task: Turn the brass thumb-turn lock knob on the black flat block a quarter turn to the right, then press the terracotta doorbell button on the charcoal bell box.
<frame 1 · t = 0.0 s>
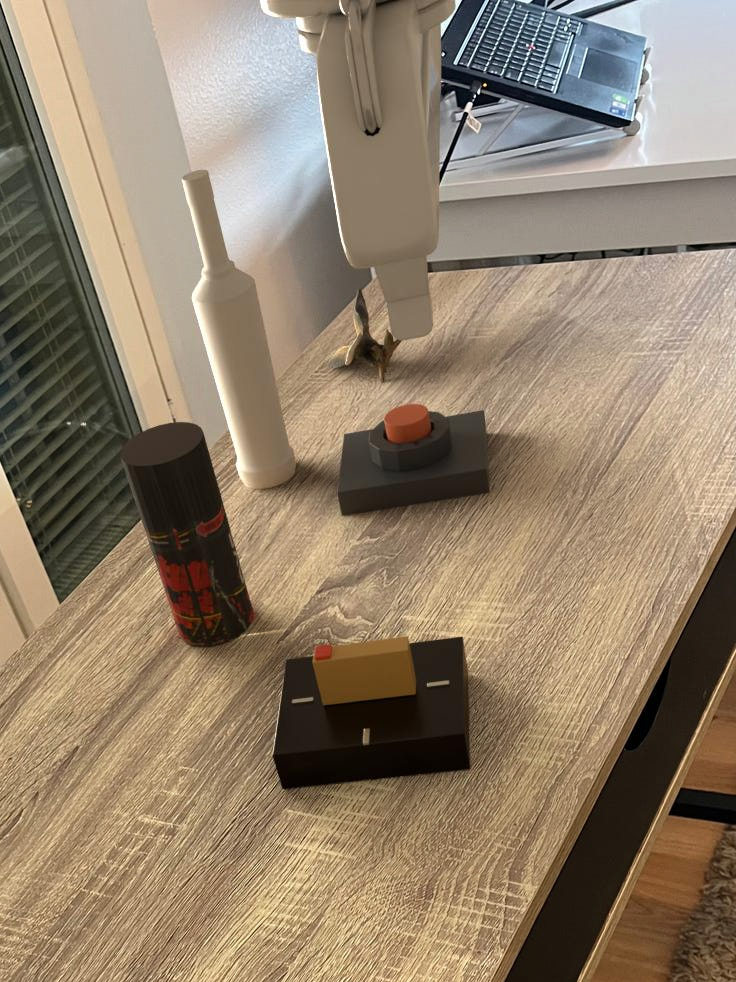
hand: (415, 288, 59), 30 cm above the table, tool pointing down, fingers open, 8 cm apart
black flat block: (377, 729, 84), on the table
bell button: (407, 424, 104), point 4 cm above the table, slide at 0.1 cm
deodorant: (217, 625, 98), on the table
bottle: (269, 477, 113), on the table
lock knob: (364, 669, 81), point 5 cm above the table, hinge at 0.0°
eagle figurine: (368, 370, 124), on the table
bell box: (415, 474, 107), on the table
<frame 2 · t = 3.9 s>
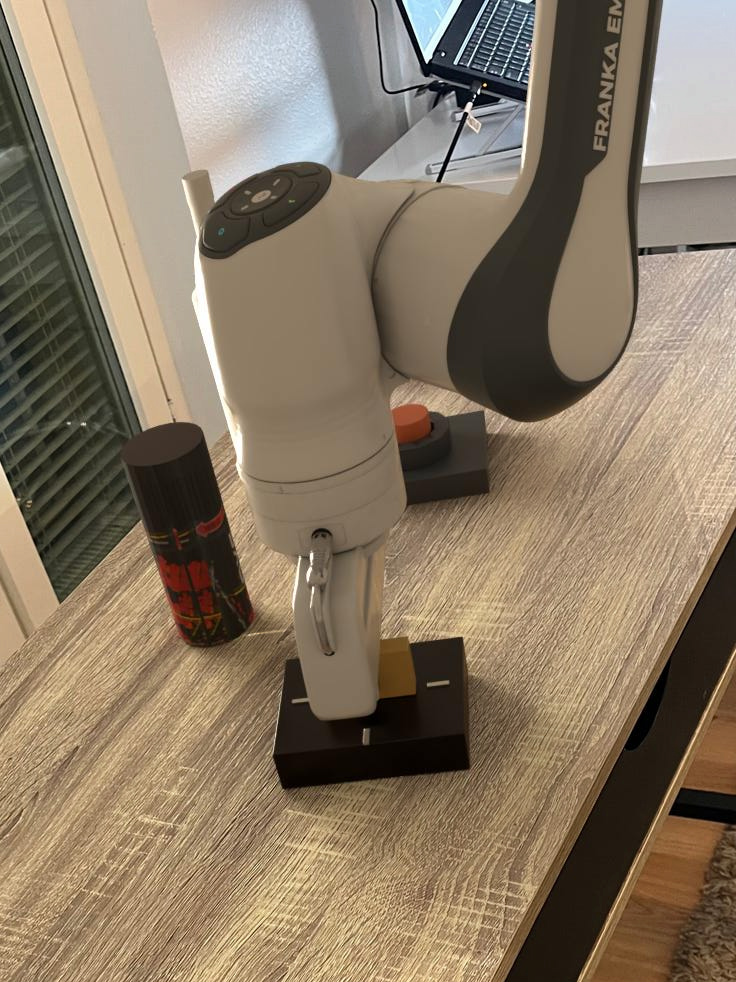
hand: (367, 682, 82), 4 cm above the table, tool pointing down, fingers closed on lock knob
lock knob: (364, 669, 81), point 5 cm above the table, hinge at 0.0°, touching gripper
everything else where it was.
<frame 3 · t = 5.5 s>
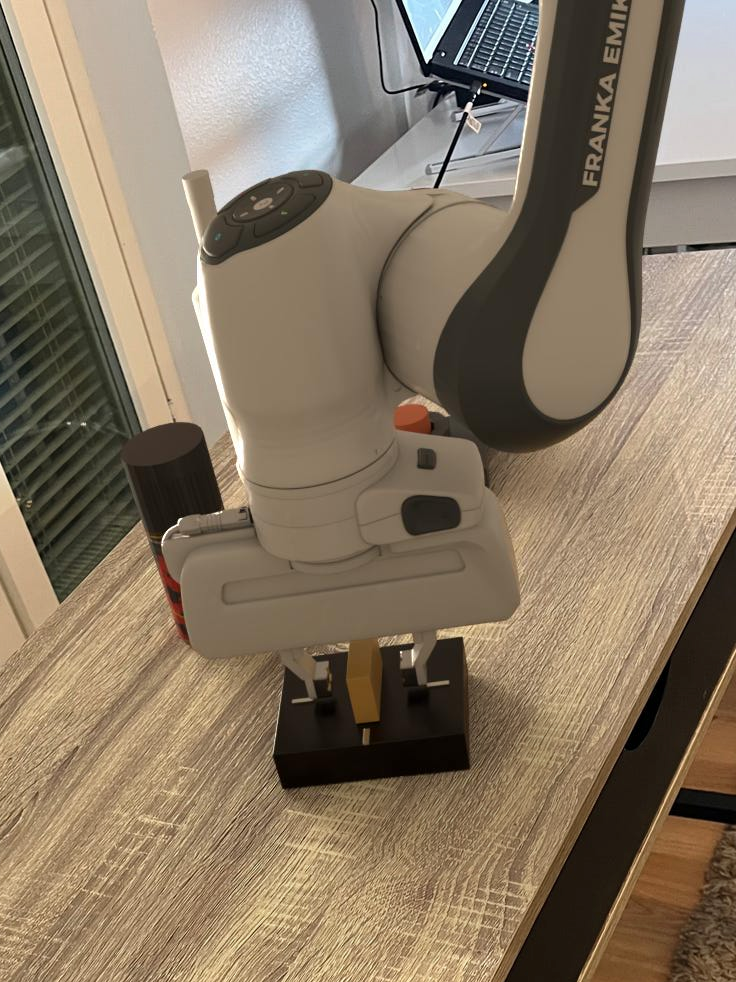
hand: (368, 686, 82), 4 cm above the table, tool pointing down, fingers open, 5 cm apart
lock knob: (364, 669, 81), point 5 cm above the table, hinge at -89.9°
everything else where it was.
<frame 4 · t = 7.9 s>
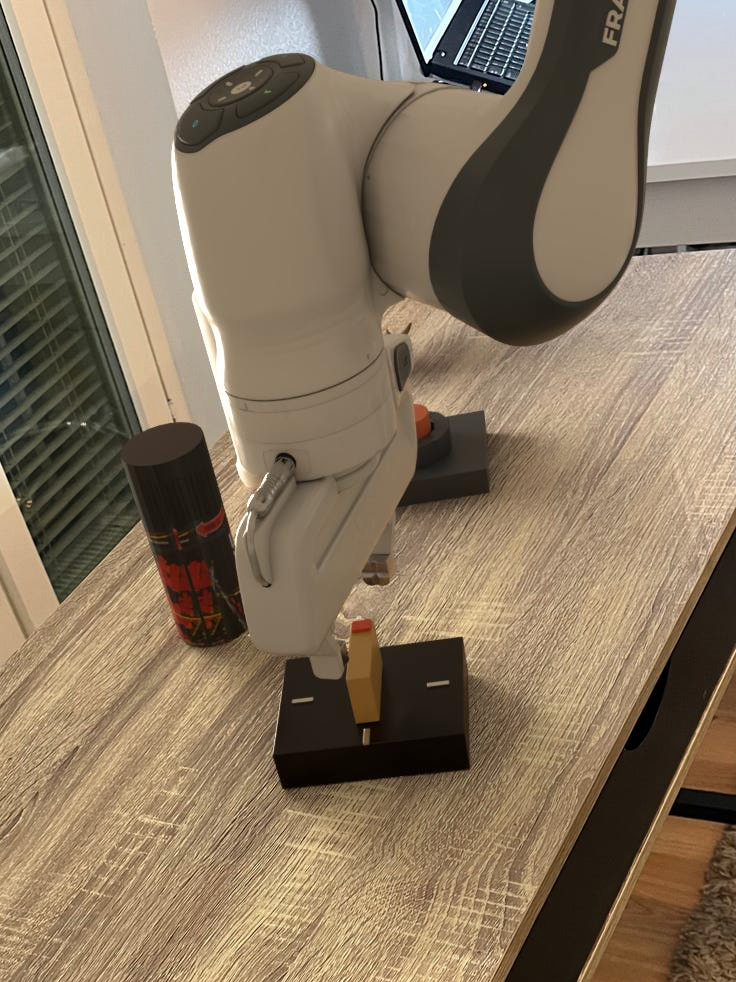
hand: (357, 623, 78), 9 cm above the table, tool pointing down, fingers open, 8 cm apart
nothing on the table moved.
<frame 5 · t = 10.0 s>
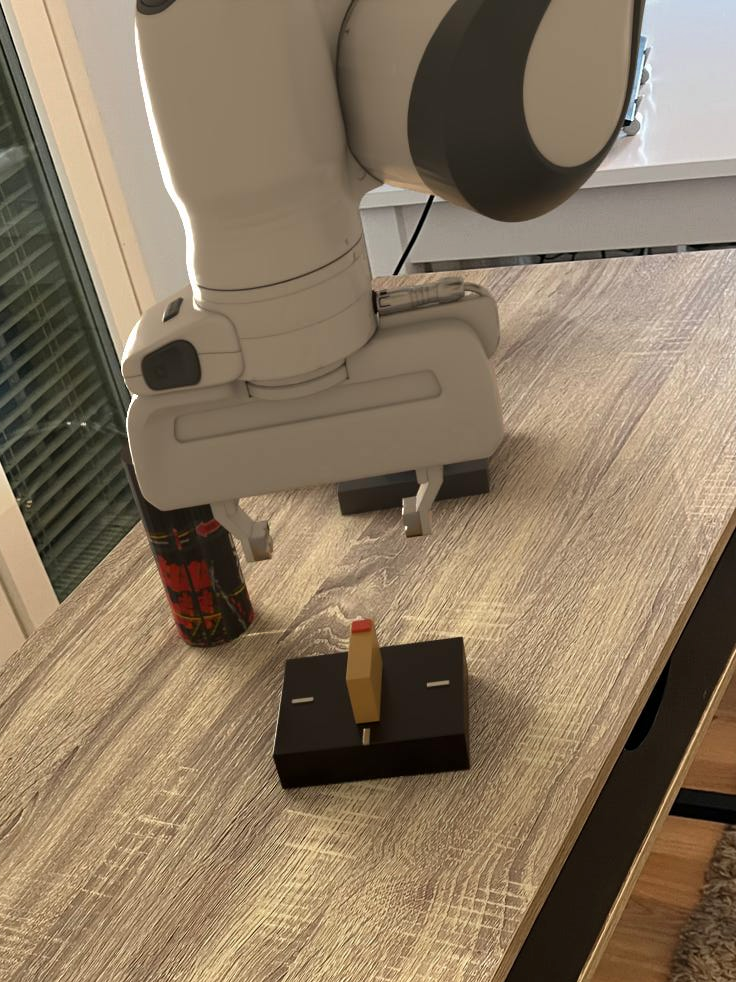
hand: (339, 544, 75), 14 cm above the table, tool pointing down, fingers open, 8 cm apart
nothing on the table moved.
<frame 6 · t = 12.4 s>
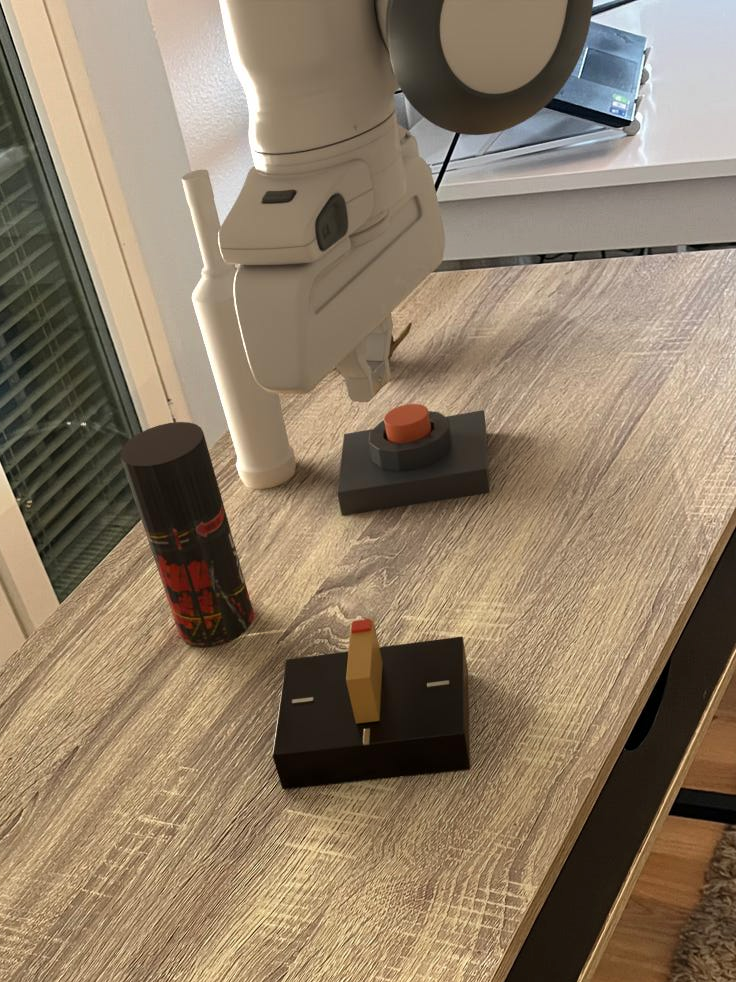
hand: (370, 391, 87), 14 cm above the table, tool pointing down, fingers closed
nothing on the table moved.
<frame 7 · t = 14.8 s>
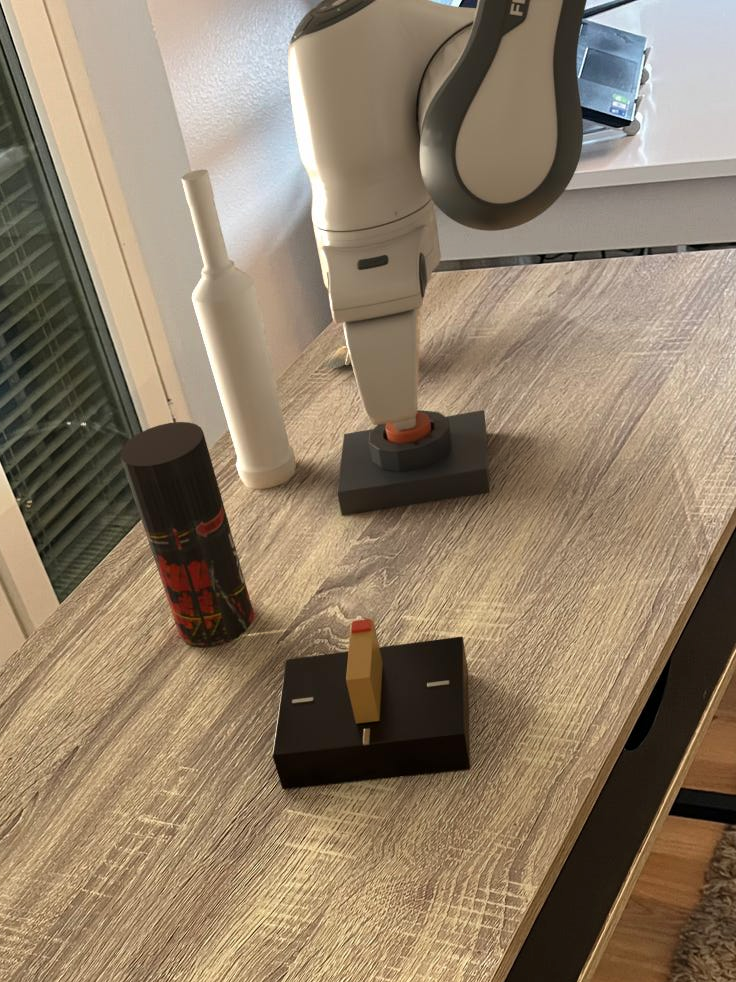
hand: (406, 421, 104), 5 cm above the table, tool pointing down, fingers closed, pressing on bell button
bell button: (408, 432, 105), point 4 cm above the table, slide at -0.6 cm, touching gripper
everything else where it was.
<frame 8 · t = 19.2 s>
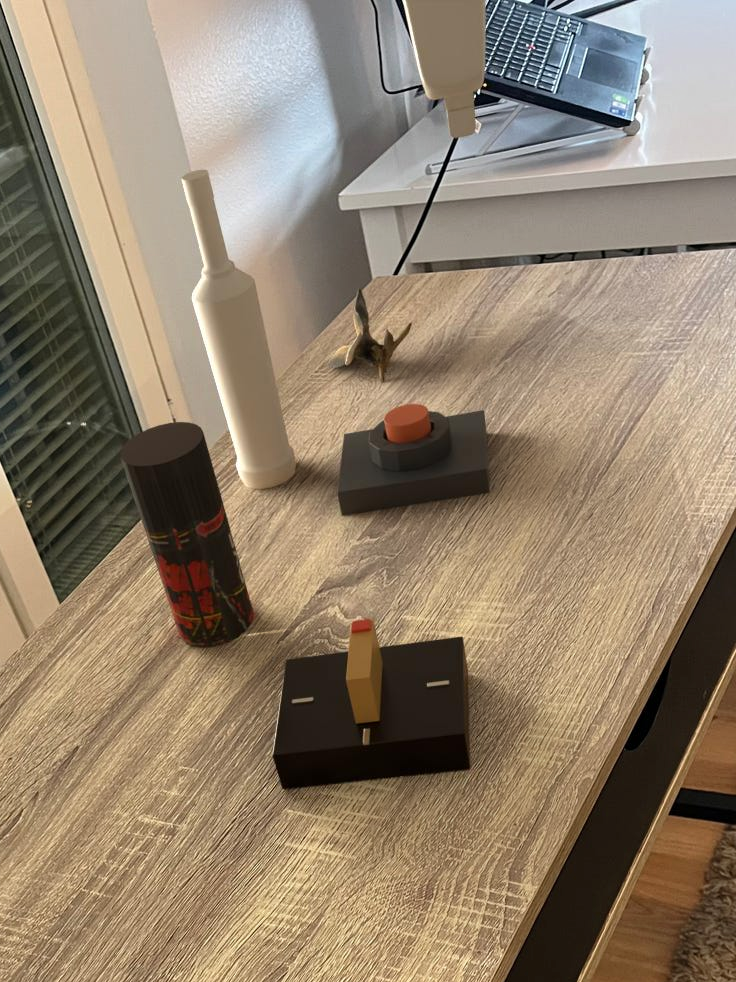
hand: (463, 130, 89), 25 cm above the table, tool pointing down, fingers closed
bell button: (407, 424, 104), point 4 cm above the table, slide at 0.1 cm
everything else where it was.
at the end: lock knob at -90° (first picture: +0°); bell button pushed in 1.1 cm at the most during the clip, back to where it started at the end; bell button slide at 0.1 cm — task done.
